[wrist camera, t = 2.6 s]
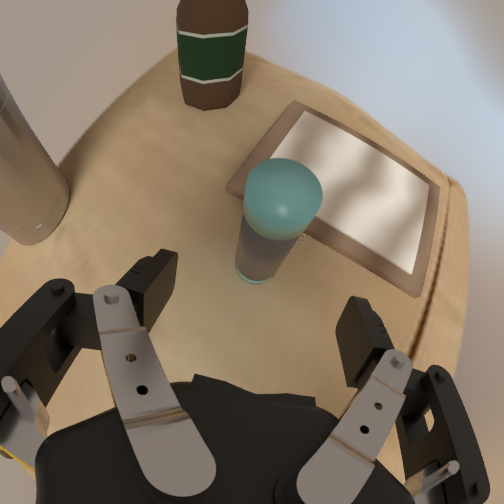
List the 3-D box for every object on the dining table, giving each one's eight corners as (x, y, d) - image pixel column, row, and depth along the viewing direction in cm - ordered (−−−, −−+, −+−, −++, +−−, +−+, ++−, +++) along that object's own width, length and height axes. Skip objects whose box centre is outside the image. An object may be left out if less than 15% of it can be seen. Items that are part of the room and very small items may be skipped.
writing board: (226, 190, 27) (226, 183, 25) (292, 105, 32) (294, 98, 31) (414, 298, 25) (422, 295, 24) (435, 190, 30) (441, 186, 29)
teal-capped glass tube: (225, 271, 24) (230, 198, 13) (247, 236, 25) (268, 147, 14) (264, 293, 24) (304, 238, 12) (284, 256, 25) (333, 180, 14)
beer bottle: (173, 110, 30) (160, -75, 8) (188, 77, 33) (188, -77, 10) (235, 115, 30) (259, -79, 8) (243, 81, 33) (265, -76, 11)
